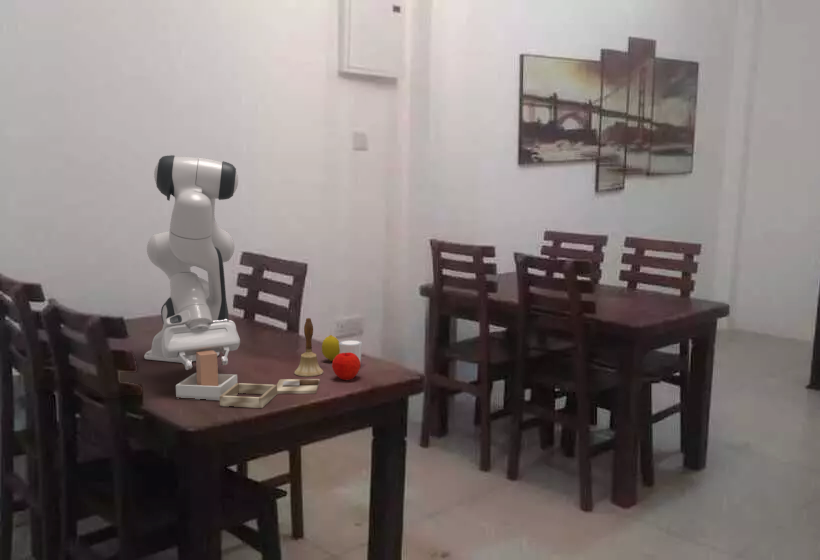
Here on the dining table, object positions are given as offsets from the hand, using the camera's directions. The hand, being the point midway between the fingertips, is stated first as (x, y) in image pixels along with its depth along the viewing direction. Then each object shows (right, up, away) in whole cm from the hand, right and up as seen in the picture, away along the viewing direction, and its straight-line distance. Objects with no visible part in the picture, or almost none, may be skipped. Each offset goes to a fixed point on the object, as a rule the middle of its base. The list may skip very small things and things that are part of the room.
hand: (207, 366), depth 218 cm
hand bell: (+24, -4, +21) cm, 32 cm away
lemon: (+29, -2, +34) cm, 45 cm away
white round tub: (+35, -3, +29) cm, 46 cm away
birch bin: (+12, -8, -5) cm, 15 cm away
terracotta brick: (0, -6, +2) cm, 7 cm away
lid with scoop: (+23, -6, +6) cm, 24 cm away
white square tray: (0, -7, +2) cm, 7 cm away
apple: (+35, -5, +15) cm, 39 cm away
